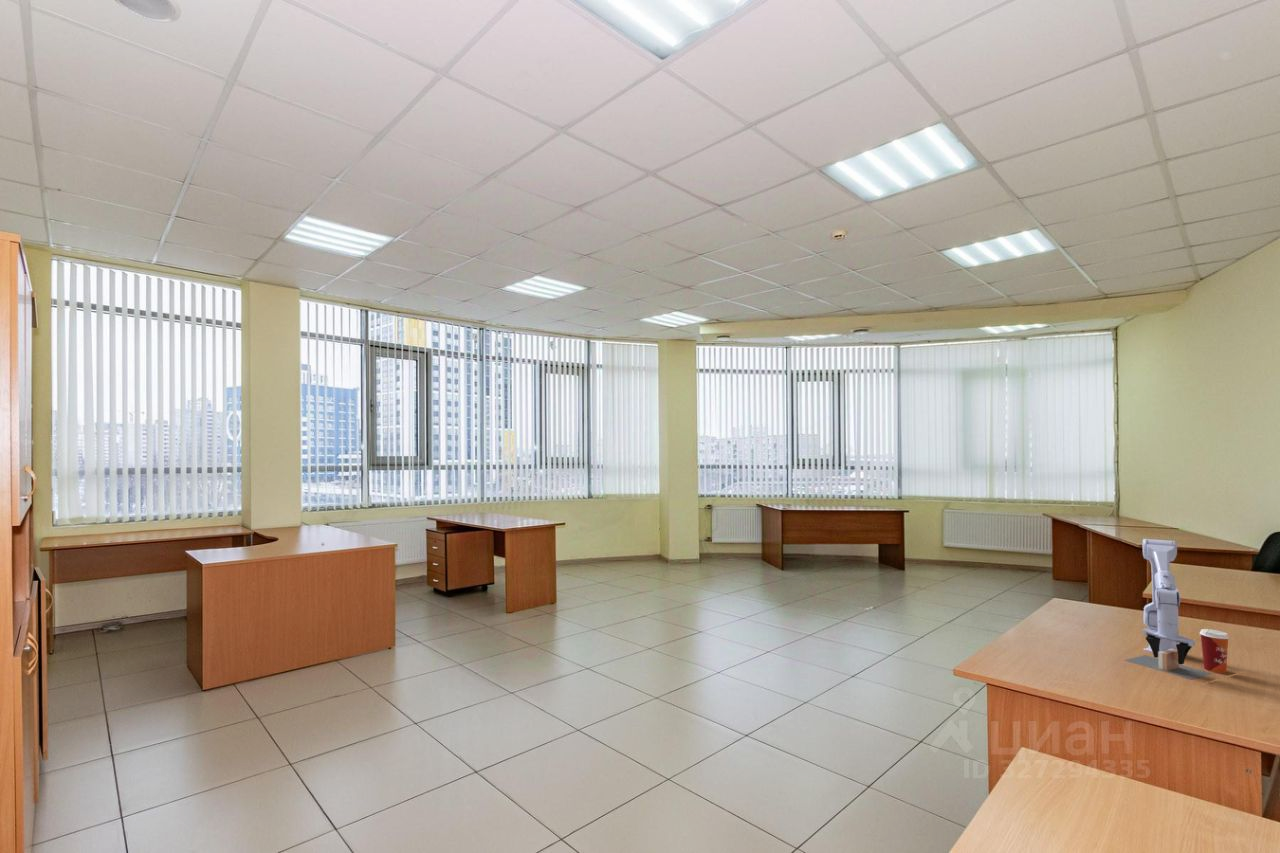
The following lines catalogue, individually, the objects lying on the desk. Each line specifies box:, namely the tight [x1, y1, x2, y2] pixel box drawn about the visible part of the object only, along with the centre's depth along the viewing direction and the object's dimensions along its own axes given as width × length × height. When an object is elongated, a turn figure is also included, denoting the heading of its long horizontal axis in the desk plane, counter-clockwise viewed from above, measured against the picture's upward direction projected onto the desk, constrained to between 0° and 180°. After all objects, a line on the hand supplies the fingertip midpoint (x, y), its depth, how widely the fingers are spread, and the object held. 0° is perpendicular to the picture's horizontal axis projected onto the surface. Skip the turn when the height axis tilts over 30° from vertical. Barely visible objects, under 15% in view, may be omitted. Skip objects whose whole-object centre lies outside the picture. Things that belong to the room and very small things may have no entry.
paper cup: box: [1199, 628, 1230, 674], centre depth 212 cm, size 8×8×14 cm
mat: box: [1124, 654, 1213, 681], centre depth 214 cm, size 14×20×1 cm
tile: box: [1157, 649, 1179, 671], centre depth 213 cm, size 8×2×6 cm, turn 114°
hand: (1168, 660), depth 213 cm, fingers open, 7 cm apart
